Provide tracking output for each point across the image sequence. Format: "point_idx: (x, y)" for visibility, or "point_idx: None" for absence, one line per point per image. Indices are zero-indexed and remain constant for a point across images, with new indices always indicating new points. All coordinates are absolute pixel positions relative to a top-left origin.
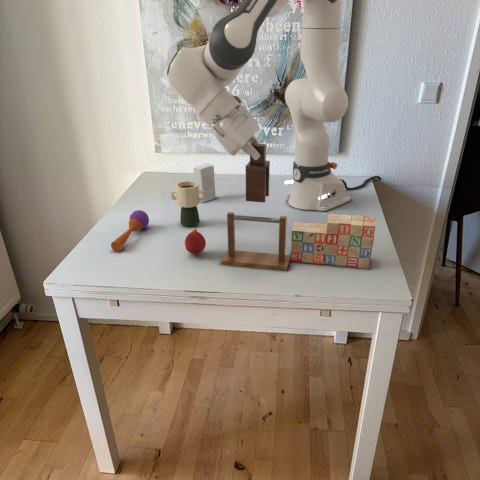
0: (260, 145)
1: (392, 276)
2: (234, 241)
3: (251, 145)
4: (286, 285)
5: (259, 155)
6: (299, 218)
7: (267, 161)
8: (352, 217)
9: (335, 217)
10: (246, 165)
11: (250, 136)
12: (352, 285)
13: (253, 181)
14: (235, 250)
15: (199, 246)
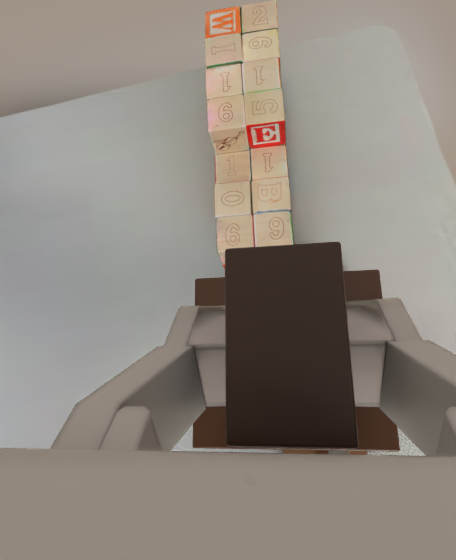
0: (307, 298)
1: (302, 54)
2: (326, 453)
3: (342, 425)
4: (428, 260)
5: (400, 302)
6: (7, 308)
7: (218, 290)
8: (226, 61)
9: (234, 106)
10: (382, 446)
11: (376, 466)
12: (372, 119)
13: None
14: (286, 452)
15: None
